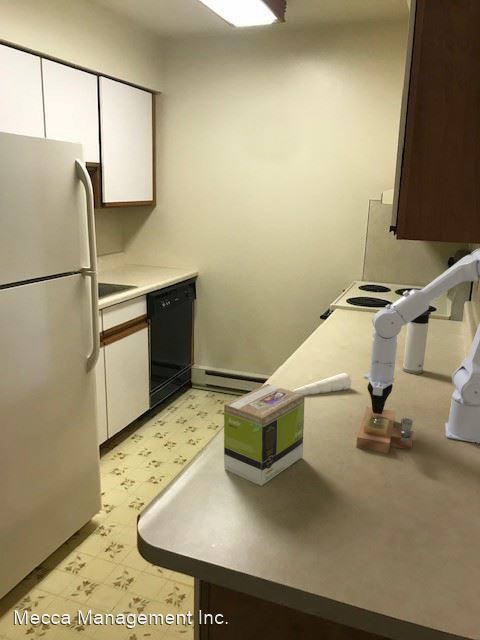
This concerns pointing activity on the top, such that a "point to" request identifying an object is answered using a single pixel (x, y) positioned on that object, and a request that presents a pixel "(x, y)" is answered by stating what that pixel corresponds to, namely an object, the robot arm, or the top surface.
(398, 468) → the top surface
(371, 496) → the top surface
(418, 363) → the travel mug
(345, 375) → the unicorn horn
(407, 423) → the lever
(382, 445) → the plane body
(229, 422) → the tea box
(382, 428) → the wooden block with bolt
